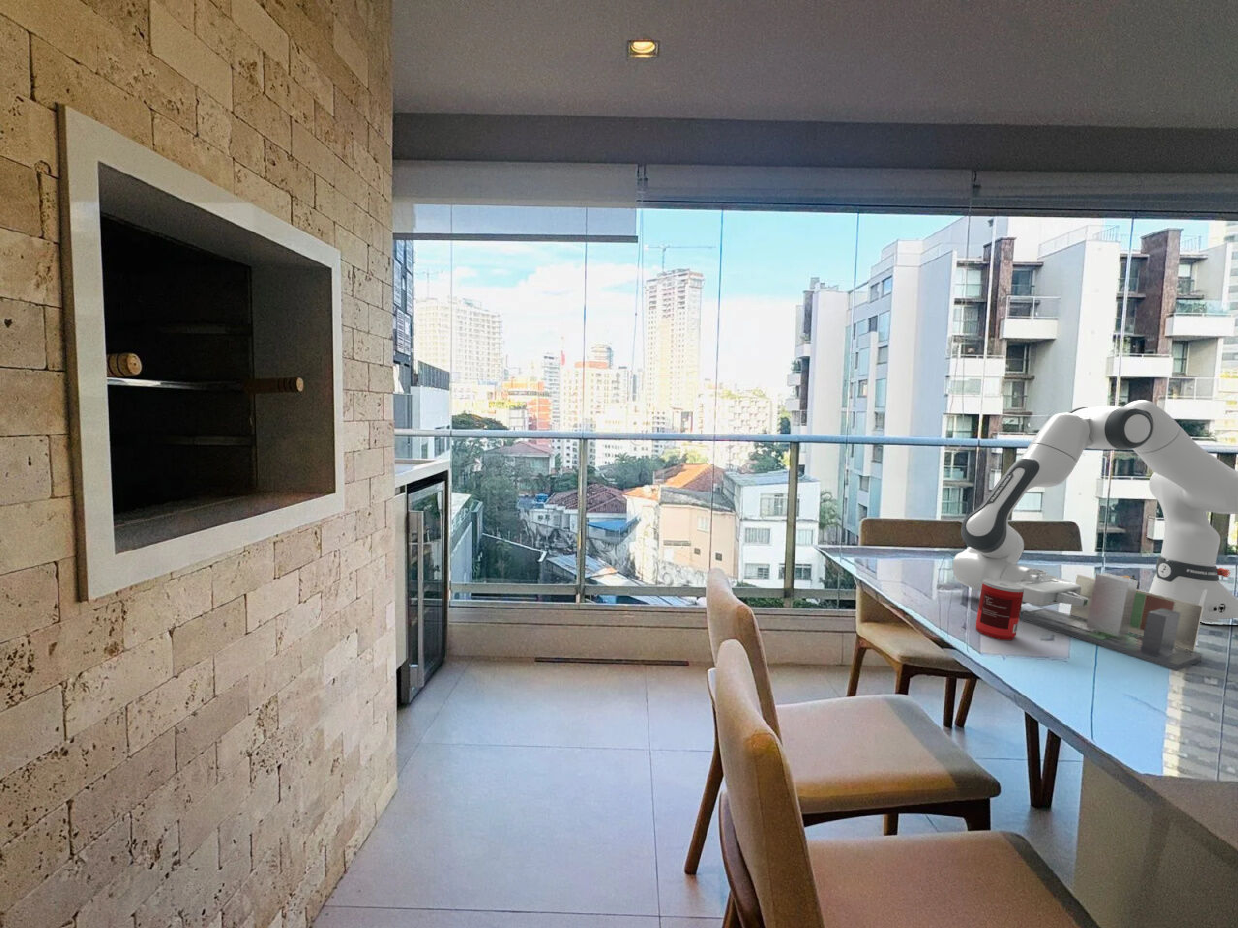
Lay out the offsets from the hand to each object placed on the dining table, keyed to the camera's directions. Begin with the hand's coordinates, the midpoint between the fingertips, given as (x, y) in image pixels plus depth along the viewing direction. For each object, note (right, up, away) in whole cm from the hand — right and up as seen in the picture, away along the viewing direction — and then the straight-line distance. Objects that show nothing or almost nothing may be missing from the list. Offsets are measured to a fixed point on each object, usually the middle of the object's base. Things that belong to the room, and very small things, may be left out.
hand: (1085, 602), depth 149 cm
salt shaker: (+18, -7, +12) cm, 23 cm away
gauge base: (+5, -7, -1) cm, 9 cm away
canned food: (-25, -5, -8) cm, 26 cm away
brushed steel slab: (+4, -5, -2) cm, 7 cm away
